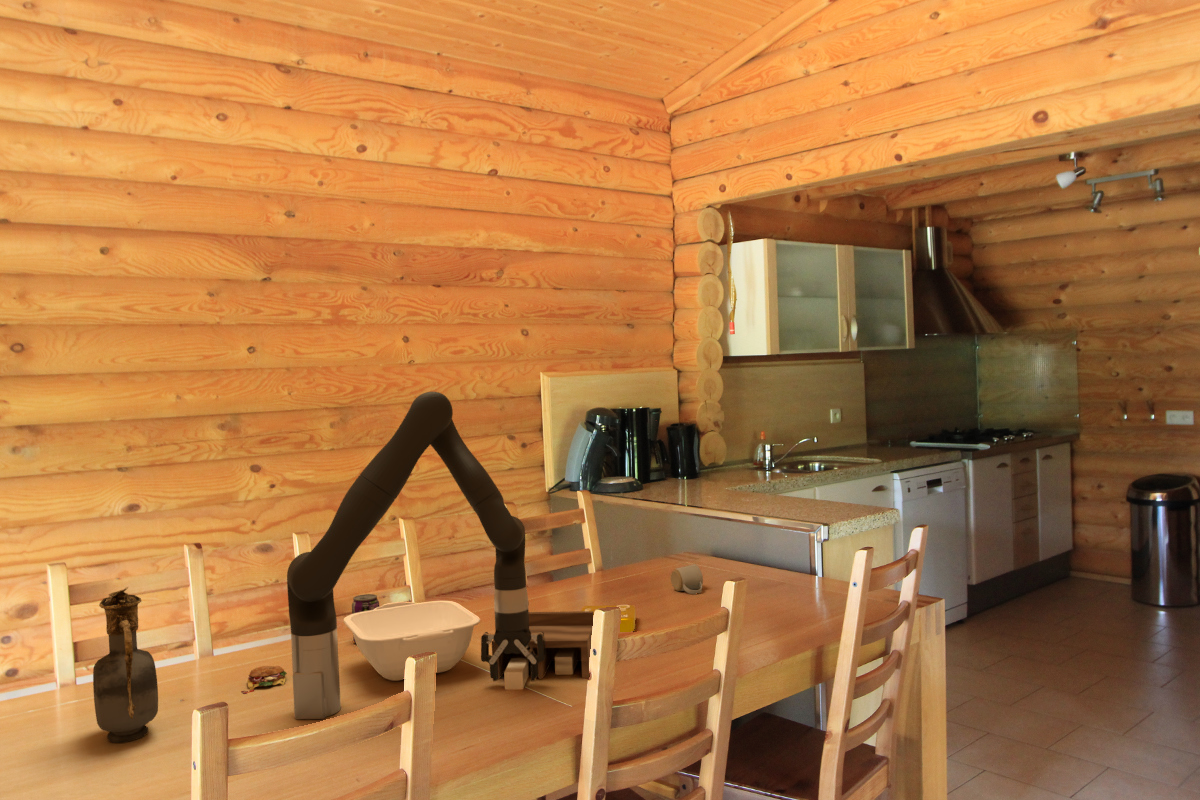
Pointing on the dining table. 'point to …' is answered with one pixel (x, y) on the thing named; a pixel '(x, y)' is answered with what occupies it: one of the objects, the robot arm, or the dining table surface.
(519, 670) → the cream block
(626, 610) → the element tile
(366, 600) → the beverage can
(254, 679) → the hamburger
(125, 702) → the pitcher
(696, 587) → the ceramic mug
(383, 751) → the dining table surface
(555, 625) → the walnut shelf
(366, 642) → the white plastic basin
